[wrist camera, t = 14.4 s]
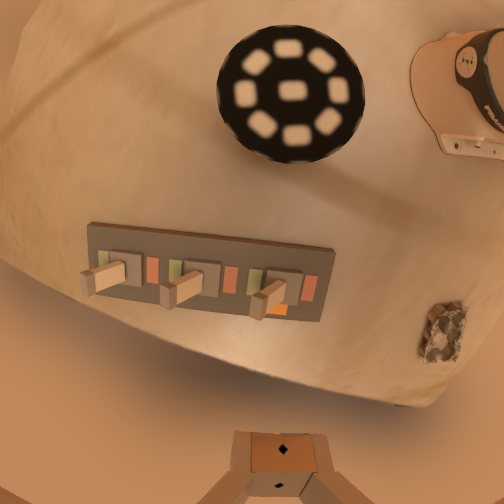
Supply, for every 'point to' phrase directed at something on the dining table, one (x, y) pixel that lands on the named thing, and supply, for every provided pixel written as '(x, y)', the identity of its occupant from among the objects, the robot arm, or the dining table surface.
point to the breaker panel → (213, 269)
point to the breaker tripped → (267, 299)
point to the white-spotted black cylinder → (290, 94)
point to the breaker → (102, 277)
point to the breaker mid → (180, 289)
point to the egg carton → (447, 328)
